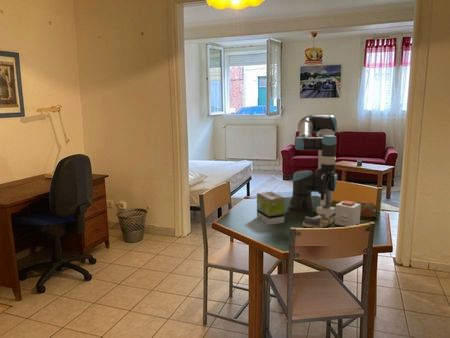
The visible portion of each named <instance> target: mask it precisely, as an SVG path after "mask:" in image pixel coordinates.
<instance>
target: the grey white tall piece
mask: <svg viewBox="0 0 450 338" xmlns="http://www.w3.org/2000/svg"><path fill="white" fill-rule="evenodd" d="M325 194H326V202H325V206H323V205H319V206H317V207H316V212H315V213H316V214H319V215H321V214H324V215H325V218H328V217H330V216H332V214H334V213H335V210H336V206H335V207H333V206H331V202H330V190H326V191H325Z"/></svg>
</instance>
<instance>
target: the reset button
mask: <svg viewBox="0 0 450 338" xmlns="http://www.w3.org/2000/svg"><path fill="white" fill-rule="evenodd" d="M343 201H344V202H342V201H341V202H342V205H347V206H353V205H355V202H356V201H350V200H343Z"/></svg>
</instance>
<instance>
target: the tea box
mask: <svg viewBox="0 0 450 338" xmlns="http://www.w3.org/2000/svg"><path fill="white" fill-rule="evenodd" d="M285 199H286V198H285V197H283V196H282V195H279V194H277V193H276V192H273V191H266V192H257V193H256V218H258V219H259V220H261V221H263V222H264V223H266V224H267V225H269V226H272V225H278V224H283V223H285V207H286V206H285V205H286V201H285Z"/></svg>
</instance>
